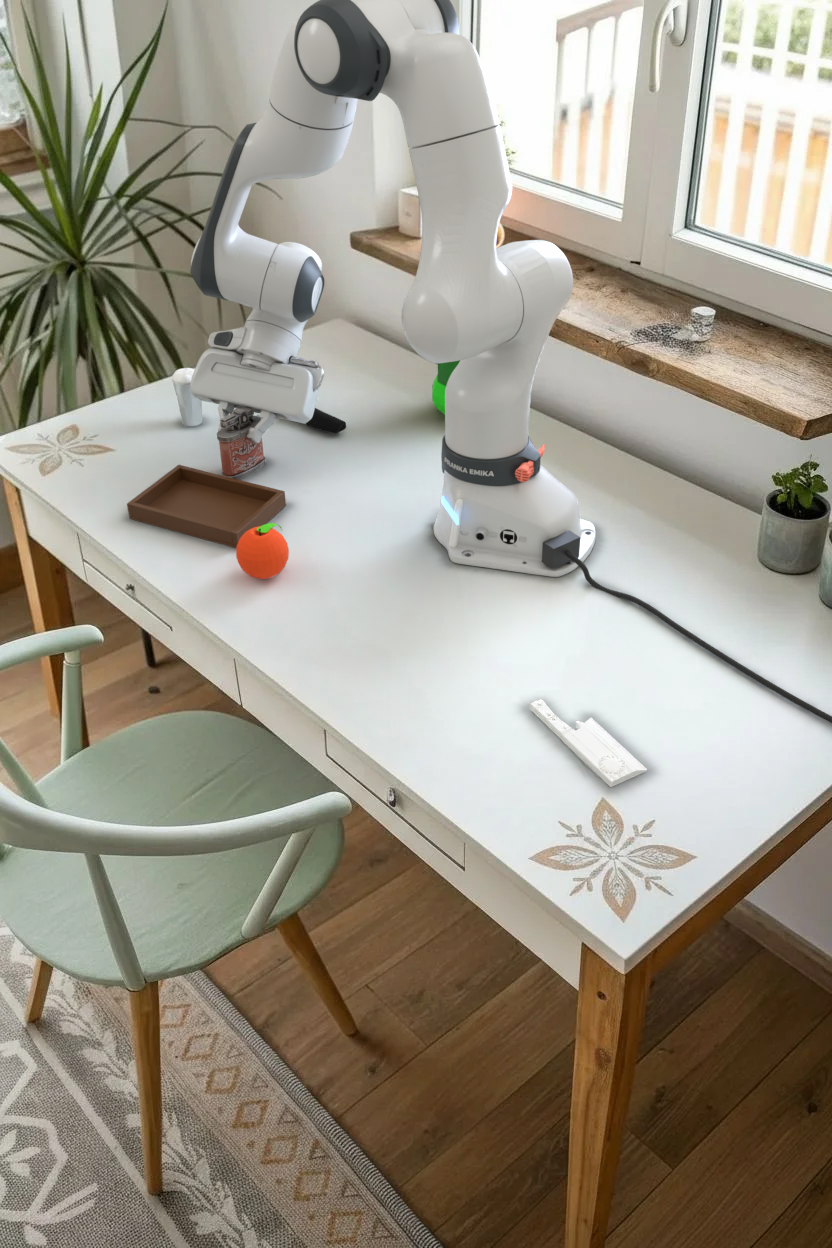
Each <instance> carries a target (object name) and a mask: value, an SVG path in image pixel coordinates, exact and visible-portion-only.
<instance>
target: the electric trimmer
mask: <svg viewBox="0 0 832 1248" xmlns="http://www.w3.org/2000/svg"><path fill="white" fill-rule="evenodd" d="M304 425H306V426H307V427H309V428H312V429H316V430H319V431H323V432H327V433H331V434H334V435H337V434H339V433H341V432H343V431H345V430H346V429H347V422H346V421H345V420H342V419H340V418H338V417H335V416H334V415H331V414H329V413H327V412H324V410H323V411H322V410H321V409H318V408H316V407H315V410H314V414H313V417H312V419H311V420H309V421H308V422H307V423H305V424H304Z"/></svg>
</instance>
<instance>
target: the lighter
mask: <svg viewBox="0 0 832 1248" xmlns="http://www.w3.org/2000/svg"><path fill="white" fill-rule="evenodd" d="M261 420H262V419H261V418H260V416H257V415H255V412H254V410H253V408H251V407H245V408H243V409H239V408H234V411H233V413H232V414H229V415H227V416H225V417H223V418H222V419H221V420H220V419H219V425H221V427H222V429H221V430H220V431H218V430H217V432H216V439H217V441H218V445H219V452H220V462H221V470H222V471H221V475H222V476H226V477H230V478H234V479H238V480H242V479H245V478H246V477H249V476H251V475H254V473H256V472H257V471H259V470H261V469H262V468H263V467H264V466H265V465H266V464H267V461H266V457H265V455H264V454H265V453H264V443H263V436H262V437H261V440H260V442H259V443H255V442H251V441H249V440H248V439H247V438H246V436H247V434H248V430H249V427H251V428H254V427H255V426H256V425H257V424H258V423H259V422H260V421H261Z"/></svg>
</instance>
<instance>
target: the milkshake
mask: <svg viewBox="0 0 832 1248" xmlns="http://www.w3.org/2000/svg"><path fill="white" fill-rule="evenodd" d="M194 370H195V368H193V367H192V368H191V367H183V368H182V367H181V368H178V369H177V370H175V371H174V372H173V373H172V377H171V380H172V381H171V382H172V384H173V388H174V392H175V395H176V400H177V403H178V408H179V413H180V417H181V422H182V424H183V426H185V427H188V428H190V427H191V428H192V427H193V428H194V427H197V426H200V425H201V424H203V422H204V421H203V403H202V402H203V401H202V400H200V399H198V398H197V397H196V396H194V395H193V394H192V393H191V389H190V382H191V378H192V376H193V373H194Z"/></svg>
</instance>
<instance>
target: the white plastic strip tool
mask: <svg viewBox="0 0 832 1248" xmlns="http://www.w3.org/2000/svg"><path fill="white" fill-rule="evenodd" d="M529 710H531V712H532V713H534V715H535V716H537V717H538V718H539V719H540V720H541V721H542V723H544V724H545V725H546V726H547V728H549V729H550V730H551V731H552V732H553V733H554V734H555V735H556V736H557V737H558V738H559V739H560V740H561V741H562V742H563V743H564V744H565V745H566V746H567V747H568V748H569V749H570V750H571V751H572V752H573V753H574V754H575V755H576V756H577V757H578V758H579V759H580V760H581V761H582V762H583V763H584V764H585V765H586V766H587V767H588V768H589V769H590V770H591V771H592V772H593V773H594V774H596V775H597V776H598V777H599V778H600V779H602V781H603V782H604V783H605V784H607V785H608V786H609V788H613V787H614V786H617V785H619V784H621V783H624V782H626V781H628V780H630V779H632V778H635V777H637V776H639V775H642V774H644V773H646V772H648V768H647V767H645V766H644V765H643V764H642V763H641V762H640V761H639V759H636V757H635V756H633V754H631V753H630V752H629V751H628V750H627V749H626V748H625V747H624V746H623V745H622V744H621V743H619V742H618V741H617V740H616V739H615V738H614V737H613V736H612V735H611V734H610V733H609V732H608V731H607V730H606V729H604V728H603V727H602V726H601V725H600V724H599V723H598V722H597V721H596V720H595V719H593V718H592V717H590V718H588V719H587V720H586V721H585V722H583V721H581V720H576V721H575V729H574V728H573V727H571V726H570V725H569V724H568V723H566V722H564V721H563V720H562V719H561V718H559V717H558V715H556V714H555V713H554V712H553V711H552V709H551V708H550V707H549V706H548V705H547V703H546V702H545V701H544V700H543V698H540V699H538V700H534V701H533V702H530V703H529Z"/></svg>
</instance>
